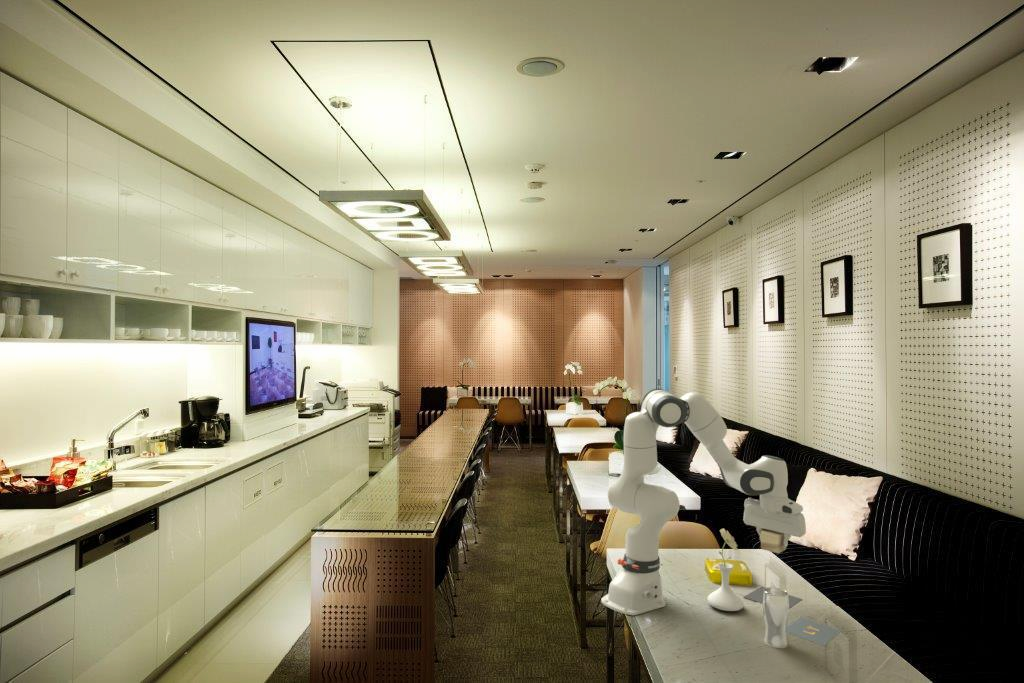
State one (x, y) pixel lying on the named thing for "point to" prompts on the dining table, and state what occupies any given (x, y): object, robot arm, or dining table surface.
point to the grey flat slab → (812, 631)
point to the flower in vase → (725, 582)
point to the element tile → (737, 575)
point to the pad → (758, 597)
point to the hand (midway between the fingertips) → (773, 543)
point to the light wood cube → (772, 541)
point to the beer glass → (775, 616)
